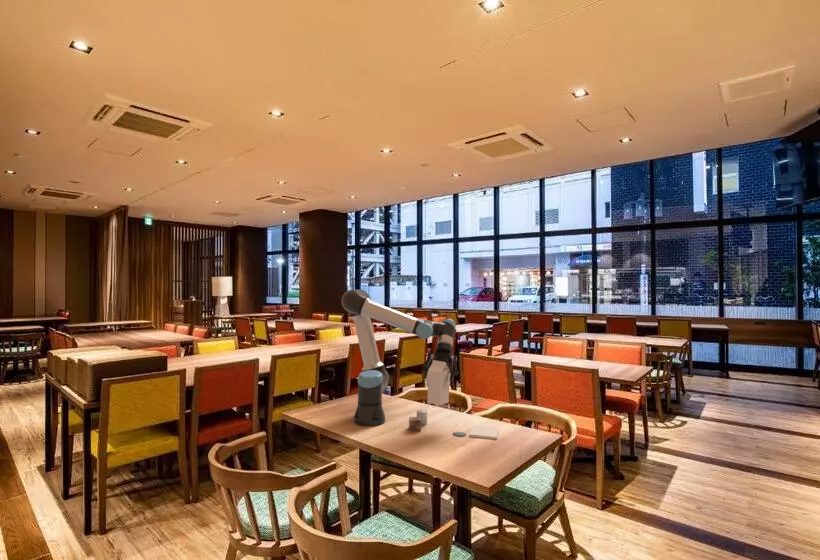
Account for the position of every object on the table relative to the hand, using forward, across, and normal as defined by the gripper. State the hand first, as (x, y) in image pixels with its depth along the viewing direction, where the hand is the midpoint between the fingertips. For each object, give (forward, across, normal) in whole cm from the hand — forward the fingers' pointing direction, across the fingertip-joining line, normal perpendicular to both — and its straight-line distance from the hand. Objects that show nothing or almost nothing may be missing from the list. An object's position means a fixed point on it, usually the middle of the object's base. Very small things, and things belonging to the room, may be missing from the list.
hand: (437, 386), depth 195 cm
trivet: (+11, -21, -17) cm, 30 cm away
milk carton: (+4, 0, -8) cm, 9 cm away
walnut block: (+15, +10, -15) cm, 23 cm away
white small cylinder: (+8, +9, -21) cm, 24 cm away
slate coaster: (+15, -11, -14) cm, 23 cm away
